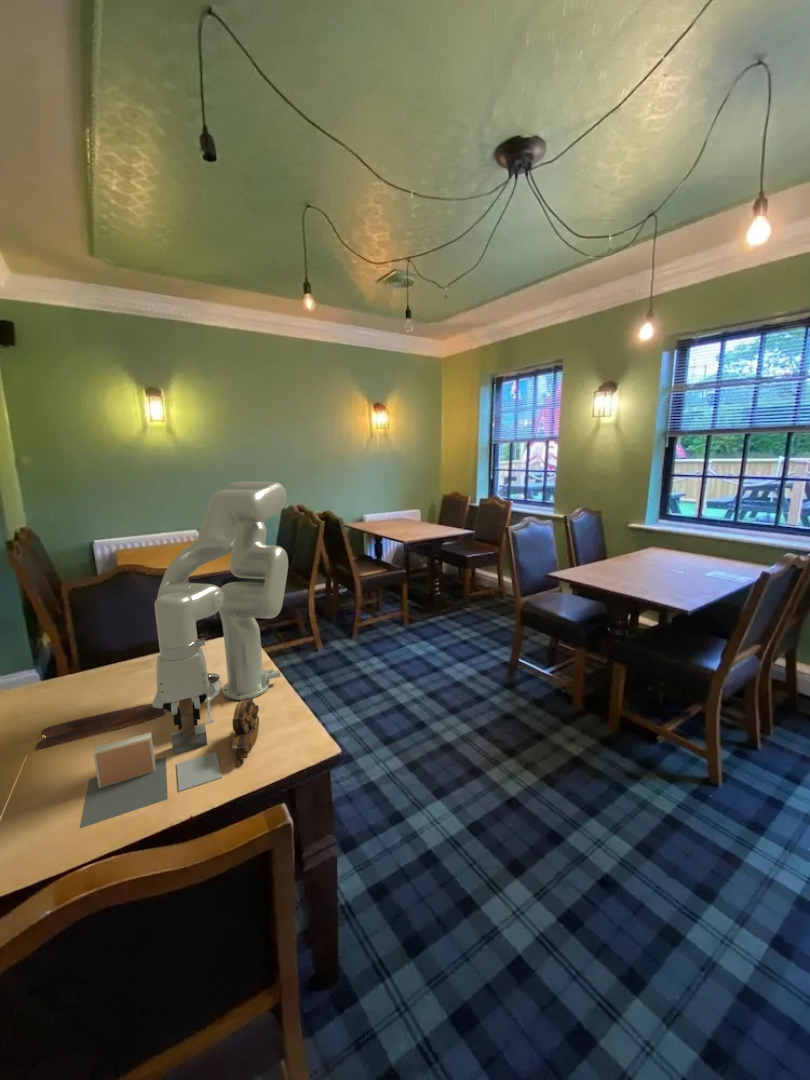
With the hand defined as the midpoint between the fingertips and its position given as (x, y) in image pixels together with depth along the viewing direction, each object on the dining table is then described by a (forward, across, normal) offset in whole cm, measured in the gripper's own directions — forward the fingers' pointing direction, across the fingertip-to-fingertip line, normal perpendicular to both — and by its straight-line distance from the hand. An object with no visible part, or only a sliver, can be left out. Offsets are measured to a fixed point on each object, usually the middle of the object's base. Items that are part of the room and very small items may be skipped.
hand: (187, 724), depth 102 cm
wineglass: (+6, -5, -8) cm, 11 cm away
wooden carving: (+6, -12, +5) cm, 15 cm away
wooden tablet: (+7, +18, -21) cm, 29 cm away
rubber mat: (+6, +12, +8) cm, 16 cm away
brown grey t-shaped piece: (+6, 0, 0) cm, 6 cm away
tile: (+6, +12, +4) cm, 14 cm away
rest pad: (+6, -1, +10) cm, 12 cm away
